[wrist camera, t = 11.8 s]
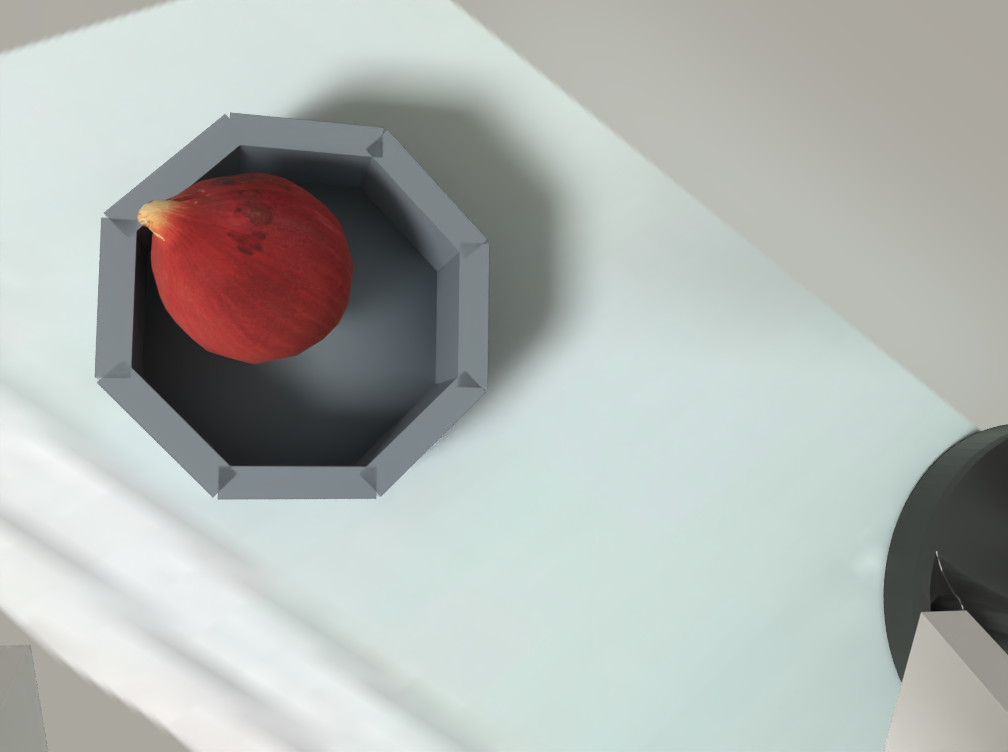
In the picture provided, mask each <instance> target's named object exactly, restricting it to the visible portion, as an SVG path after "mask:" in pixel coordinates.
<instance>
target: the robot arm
mask: <svg viewBox="0 0 1008 752" xmlns="http://www.w3.org/2000/svg"><path fill="white" fill-rule="evenodd" d="M884 615H885V625H886V632H887V638H888V642H889V647H890V651H891V654H892V658H893V661H894V664H895V667H896V670H897V673H898V675H899V678H900V680H901V682H902V684H901V688H900V692H899V695H898V699H897V703H896V706H895V710H894V714H893V717H892V721H891V725H890V728H889V732H888V736H887V739H886V743H885V747H884V749H885V750H886V752H1008V425H1002V426H997V427H993V428H990V429H987V430H984V431H981V432H979V433H977V434H974V435H972V436H970V437H968V438H967V439H965V440H963V441H961V442H960V443H958V444H957V445H955V446H954V447H952V448H951V449H950V450H949V451H947V452H946V453H945V454H944V455H942V456H941V457H940V458H939V459H938V460H937V461H936V462H935V463H934V464H933V465H932V466H931V467H930V469H929V470H928V471H927V472H926V473H925V474H924V476H923V477H922V478H921V480H920V481H919V482H918V484H917V485H916V487H915V488H914V490H913V492H912V493H911V495H910V497H909V498H908V500H907V502H906V504H905V506H904V508H903V510H902V512H901V515H900V517H899V519H898V522H897V525H896V527H895V530H894V533H893V537H892V540H891V544H890V548H889V552H888V557H887V563H886V570H885V579H884ZM0 752H48V748H47V741H46V735H45V729H44V723H43V717H42V711H41V706H40V699H39V693H38V687H37V681H36V675H35V669H34V663H33V657H32V651H31V646H30V645H17V646H16V645H14V646H0Z"/></svg>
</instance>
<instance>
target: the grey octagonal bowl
mask: <svg viewBox="0 0 1008 752" xmlns="http://www.w3.org/2000/svg"><path fill="white" fill-rule="evenodd" d="M244 173H267V174H271V175H275V176H278V177H282V178H286V179H287V180H289V181H291V182H293V183H294V184H296V185H298V186H300V187H301V188H303V189H305V190H306V191H307V192H309V193H310V194H311V195H313V196H314V197H315V198H316V199H318V200H319V201H320V202H322V203H323V204H324V205H325V206H326V207H327V208H328V209H329V210H330V211H331V212H332V213H333V214H334V216H335V217H336V218H337V219H338V220H339V221H340V223H341V226H342V229H343V232H344V235H345V238H346V241H347V244H348V248H349V252H350V255H351V259H352V263H353V273H352V281H351V289H350V297H349V303H348V305H347V308H346V310H345V312H344V314H343V316H342V318H341V320H340V322H339V324H338V325H337V326H336V327H335V328H334V329H333V330H332V331H331V332H330V333H329V334H328V335H327V336H326V337H325V338H324V339H323V340H321V341H320V342H318V343H317V344H315V345H313V346H312V347H310V348H308V349H307V350H305V351H304V352H302V353H300V354H299V355H297V356H292V357H288V358H283V359H278V360H273V361H268V362H262V363H257V364H251V363H247V362H244V361H240V360H236V359H232V358H228V357H225V356H221V355H218V354H215V353H212V352H208V351H207V350H206V349H204V348H203V347H202V346H201V345H199V344H198V343H197V342H196V341H194V340H193V339H192V338H191V337H190V336H189V335H188V334H187V333H186V332H185V331H184V330H183V329H182V328H181V327H180V326H179V325H178V324H177V323H176V322H175V321H174V319H173V318H172V317H171V315H170V314H169V313H168V311H167V310H166V309H165V306H164V304H163V302H162V300H161V297H160V295H159V291H158V288H157V284H156V281H155V277H154V274H153V270H152V266H151V248H152V235H153V232H152V231H151V230H150V229H149V228H148V227H146V226H143V225H141V224H140V223H139V222H138V220H137V215H138V212H139V210H140V209H141V208H142V206H143V205H144V204H146V203H148V202H150V201H153V200H166V199H169V198H171V197H174V196H176V195H178V194H179V193H180V192H182V191H183V190H185V189H186V188H188V187H190V186H192V185H194V184H196V183H198V182H200V181H202V180H206V179H212V178H218V177H224V176H230V175H237V174H244ZM104 214H105V216H106V218H101V237H100V261H99V285H98V309H97V333H96V357H95V378H97V379H99V381H98V382H97V383H98V384H99V385H100V386H101V387H102V388H103V389H104V390H105V391H106V392H107V393H108V394H109V395H110V396H111V397H112V398H113V399H114V400H115V401H116V402H117V403H118V404H119V405H120V406H121V407H122V408H123V409H124V410H125V411H126V412H127V413H128V414H129V415H130V416H131V417H132V418H133V419H134V420H135V421H136V422H137V423H138V424H139V425H140V426H141V427H142V428H143V429H144V430H145V431H146V432H147V433H148V434H149V435H150V436H151V437H152V438H153V439H154V440H155V441H156V442H157V443H158V444H159V445H160V446H161V447H162V448H163V449H164V450H165V451H166V452H167V453H168V454H169V455H170V456H171V457H172V458H174V459H175V460H176V461H177V462H178V463H179V464H180V465H181V466H182V467H183V468H184V469H185V470H186V471H187V472H188V473H189V474H190V475H191V476H192V477H193V478H194V479H195V480H196V481H197V482H198V483H199V484H200V485H201V486H202V487H203V488H204V489H205V490H206V491H207V492H208V493H209V494H210V495H211V496H212V497H214V496H215V495H216V494H217V493H218V499H376V495H378V496H380V497H381V496H382V495H383V494H384V493H385V492H386V491H387V490H388V489H389V488H390V487H391V486H392V485H393V484H394V483H395V482H396V481H397V480H398V479H399V478H400V477H401V476H402V475H403V474H404V473H405V472H406V471H407V470H408V469H409V468H410V467H411V466H412V465H413V464H414V463H415V462H416V461H417V460H418V459H419V458H420V457H421V456H422V455H423V454H424V453H425V452H426V451H427V450H428V449H429V448H430V447H431V446H432V445H433V444H434V443H435V442H436V441H437V440H438V439H439V438H440V437H441V436H442V435H443V434H444V433H445V432H446V431H447V430H448V429H449V428H450V427H451V426H452V425H453V424H454V423H455V422H456V421H457V420H458V419H459V418H460V417H461V416H462V415H463V414H464V413H465V412H466V411H467V410H468V409H469V408H470V407H471V406H473V405H474V404H475V403H476V402H477V401H478V400H479V399H480V398H481V397H482V396H483V395H484V394H485V393H486V392H485V391H484V390H483V389H485V388H488V303H489V244H483V243H484V242H485V241H486V240H487V239H486V237H485V236H484V235H483V234H482V233H481V232H480V231H479V230H478V229H477V228H476V226H475V225H474V224H473V223H472V222H471V221H470V220H469V219H468V218H467V217H466V215H465V214H464V213H463V212H462V211H461V210H460V209H459V208H458V207H457V206H456V204H455V203H454V202H453V201H452V200H451V199H450V198H449V197H448V196H447V195H446V193H445V192H444V191H443V190H442V189H441V188H440V187H439V186H438V185H437V184H436V182H435V181H434V180H433V179H432V178H431V177H430V176H429V175H428V174H427V173H426V171H425V170H424V169H423V168H422V167H421V166H420V165H419V164H418V163H417V162H416V160H415V159H414V158H413V157H412V156H411V155H410V154H409V153H408V152H407V151H406V149H405V148H404V147H403V146H402V145H401V144H400V143H399V142H398V141H397V139H396V138H395V137H394V136H393V135H392V134H391V133H390V132H389V131H388V130H387V131H386V132H385V133H384V134H383V128H382V127H372V126H362V125H351V124H341V123H331V122H321V121H311V120H301V119H291V118H281V117H270V116H260V115H250V114H240V113H230V119H229V117H228V116H227V115H226V114H224V115H223V116H222V117H221V118H220V119H218V120H217V121H216V122H215V123H213V124H212V125H211V126H210V127H209V128H207V129H206V130H205V131H204V132H202V133H201V134H200V135H199V136H197V137H196V138H195V139H194V140H193V141H191V142H190V143H189V144H188V145H186V146H185V147H184V148H183V149H182V150H180V151H179V152H178V153H177V154H175V155H174V156H173V157H172V158H170V159H169V160H168V161H167V162H166V163H164V164H163V165H162V166H161V167H159V168H158V169H157V170H156V171H155V172H153V173H152V174H151V175H150V176H148V177H147V178H146V179H145V180H143V181H142V182H141V183H140V184H139V185H137V186H136V187H135V188H134V189H132V190H131V191H130V192H129V193H128V194H126V195H125V196H124V197H123V198H121V199H120V200H119V201H118V202H117V203H115V204H114V205H113V206H112V207H110V208H109V209H108V210H107V211H105V212H104Z"/></svg>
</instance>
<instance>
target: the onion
mask: <svg viewBox="0 0 1008 752" xmlns="http://www.w3.org/2000/svg"><path fill="white" fill-rule="evenodd" d="M137 220H138V222H139V223H140V224H141V225H143V226H146V227H148V228H149V229H150V230H151V231H152V232H153V235H152V248H151V266H152V270H153V274H154V277H155V281H156V284H157V288H158V291H159V295H160V297H161V300H162V302H163V304H164V306H165V309H166V310H167V311H168V313H169V314H170V315H171V317H172V318H173V319H174V321H175V322H176V323H177V324H178V325H179V326H180V327H181V328H182V329H183V330H184V331H185V332H186V333H187V334H188V335H189V336H190V337H191V338H192V339H193V340H194V341H196V342H197V343H198V344H199V345H201V346H202V347H203V348H204V349H206V350H207V351H208V352H212V353H215V354H218V355H221V356H225V357H228V358H232V359H236V360H240V361H244V362H247V363H251V364H257V363H262V362H268V361H273V360H278V359H283V358H288V357H292V356H297V355H299V354H300V353H302V352H304V351H305V350H307V349H308V348H310V347H312V346H313V345H315V344H317V343H318V342H320V341H321V340H323V339H324V338H325V337H326V336H327V335H328V334H329V333H330V332H331V331H332V330H333V329H334V328H335V327H336V326H337V325H338V324H339V322H340V320H341V318H342V316H343V314H344V312H345V310H346V308H347V305H348V303H349V297H350V289H351V281H352V273H353V263H352V259H351V255H350V252H349V248H348V244H347V241H346V238H345V235H344V232H343V229H342V226H341V223H340V221H339V220H338V219H337V218H336V217H335V216H334V214H333V213H332V212H331V211H330V210H329V209H328V208H327V207H326V206H325V205H324V204H323V203H322V202H320V201H319V200H318V199H316V198H315V197H314V196H313V195H311V194H310V193H309V192H307V191H306V190H305V189H303V188H301V187H300V186H298V185H296V184H294V183H293V182H291V181H289V180H287V179H286V178H282V177H278V176H275V175H271V174H267V173H244V174H237V175H230V176H224V177H218V178H212V179H206V180H202V181H200V182H198V183H196V184H194V185H192V186H190V187H188V188H186V189H185V190H183V191H182V192H180V193H179V194H178V195H176V196H174V197H171V198H169V199H166V200H153V201H150V202H148V203H146V204H144V205H143V206H142V208H141V209H140V210H139V212H138V215H137Z"/></svg>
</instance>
